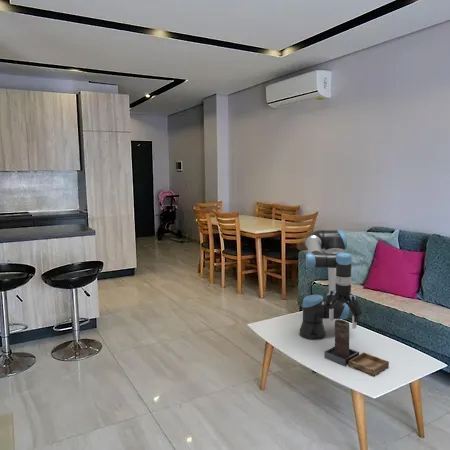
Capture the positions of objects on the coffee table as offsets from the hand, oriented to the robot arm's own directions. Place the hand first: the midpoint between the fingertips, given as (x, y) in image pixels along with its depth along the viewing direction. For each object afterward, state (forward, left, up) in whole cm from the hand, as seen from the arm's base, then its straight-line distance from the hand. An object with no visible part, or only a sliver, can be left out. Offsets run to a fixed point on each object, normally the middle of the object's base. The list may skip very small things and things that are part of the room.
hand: (342, 324), depth 204 cm
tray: (+14, +2, -19) cm, 23 cm away
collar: (0, 0, -19) cm, 19 cm away
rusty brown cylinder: (0, 0, -19) cm, 19 cm away
